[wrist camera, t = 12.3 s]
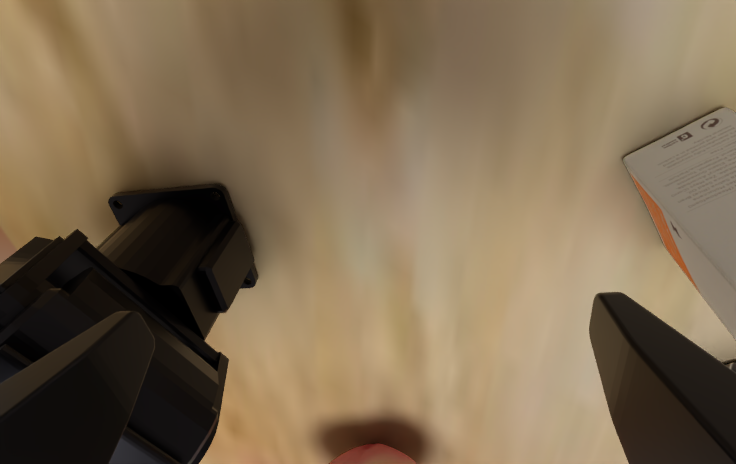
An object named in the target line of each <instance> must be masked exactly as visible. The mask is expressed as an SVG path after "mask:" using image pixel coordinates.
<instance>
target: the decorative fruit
mask: <svg viewBox="0 0 736 464" xmlns="http://www.w3.org/2000/svg"><path fill="white" fill-rule="evenodd" d="M329 464H417V463H416V462H415V461H414V460H412V459H411V458H410V457H408V456H407V455H405V454H404V453H402V452H400V451H398V450H396V449H394V448H392V447H389V446H386V445H384V444H381V443H377V444H367V445H363V446H358V447H355V448H353V449H351V450H349V451H347V452H345V453H343V454H341V455H340V456H338V457H337V458H335V459H334V460H333V461H331V462H330V463H329Z"/></svg>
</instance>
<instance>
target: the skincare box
mask: <svg viewBox="0 0 736 464" xmlns="http://www.w3.org/2000/svg"><path fill="white" fill-rule="evenodd" d="M623 162H624V164H625V166H626V168H627V170H628V171H629V173H630V175H631V177H632V179H633V181H634V183H635V185H636V187H637V189H638V191H639V193H640V195H641V197H642V198H643V200H644V202H645V204H646V206H647V209H648V211H649V213H650V215H651V217H652V220H653V222H654V224H655V226H656V229H657V231H658V233H659V235H660V237H661V240H662V242H663V244H664V246H665V248H666V250H667V251H668V252H669V253H670V255H671V256H672V257H673V259H674V260H675V261H676V263H677V264H678V265H679V267H680V268H681V269H682V271H683V272H684V273H685V275H686V276H687V277H688V279H689V280H690V281H691V282H692V284H693V285H694V286H695V288H696V289H697V290H698V292H699V293H700V294H701V296H702V297H703V298H704V300H705V301H706V302H707V303H708V305H709V306H710V307H711V309H712V310H713V311H714V313H715V314H716V315H717V316H718V318H719V319H720V320H721V322H722V323H723V324H724V326H725V327H726V328H727V330H728V331H729V332H730V334H731V335H732V336H733V338H734V339H735V340H736V112H734V111H732V110H731V109H729V108H727V107H725V108H721V109H719V110H717V111H715V112H713V113H711V114H709V115H707V116H705V117H703V118H701V119H699V120H697V121H695V122H693V123H691V124H689V125H687V126H685V127H683V128H681V129H679V130H677V131H675V132H673V133H671V134H669V135H667V136H665V137H663V138H662V139H660V140H657V141H655V142H653V143H651V144H649V145H647V146H645V147H643V148H641V149H639V150H637V151H635V152H633V153H631V154H629V155H627V156H626V157H624V159H623Z"/></svg>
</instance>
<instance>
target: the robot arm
mask: <svg viewBox="0 0 736 464" xmlns="http://www.w3.org/2000/svg"><path fill="white" fill-rule="evenodd" d="M213 192H216V193H218V194H219V195H220V197H217V196H215V194H214V193H213ZM118 201H119V202H121V203H122V205H121V204H120V203H119V202H118ZM108 203H109V206H110V208H111V209H112V211H113V213H114V215H115V217H116V219H117V221H118V223H119V225H120V226H119V227H118V228H117V229H116V230H115V231H114V232H113V233H112V234H111V235H110V236H109V237H108V238H106V239H105V240H104V241H103V242H102V243H101V244H100V245H99V246H98V247H97V248H95V247H94V246H93V245H92V244H91V243H89V242H88V241H87V239H88V238H87V237H86V236H85V235H84V234H83V233H82V232H80V231H79V230H78V229H76V230H75V231H74V232H73V233H71V234H70V235H69V236H67V237H66V238H65V239H62V238H61V237H60V236H59V237H58V238H56V239H55V240H50V239H45V238H40V237H35V238H34V239H32V240H31V241H30V242H28V243H27V244H26V245H24V246H23V247H22V248H21V249H19V250H18V251H17V252H15V253H14V254H13V255H12V256H10V257H9V258H7V259H6V260H5V261H3V262H2V263H1V264H0V464H199V462H200V461H201V459H202V458H203V457H204V455H205V453H206V452H207V450H208V448H209V446H210V445H211V443H212V440H213V438H214V436H215V433H216V430H217V426H218V422H219V416H220V410H221V404H222V398H223V392H224V385H225V379H226V373H227V367H228V361H229V359H228V358H227V357H226V356H225V355H223V354H222V353H221V352H217V351H215V350H214V349H213V348H212V347H211V346H210V345H208V344H207V343H206V342H205V339H206V337H207V335H208V334H209V332H210V330H211V328H212V326H213V324H214V323H215V321H216V319H217V317H218V315H219V313H226V312H227V310H228V309H229V308H230V306H231V304H232V302H233V300H234V298H235V296H236V294H237V293H238V291H239V289H240V288H252V287H254V286H255V284H256V282H257V280H258V276H257V273H256V270H255V268H254V265H253V262H254V258H253V255H252V252H251V250H250V247H249V244H248V241H247V238H246V236H245V233H244V230H243V227H242V224H241V223H240V222H239V221H238V220H237V217H236V215H235V212H234V209H233V206H232V203H231V201H230V198H229V195H228V192H227V190H226V189H225V188H224V187H223V186H222V185H219V184H208V185H197V186H186V187H175V188H164V189H153V190H142V191H131V192H120V193H116V194H114V195H113V196H112V197H110V199H109V202H108ZM246 278H249V279H250V280H248V279H246ZM589 334H590V340H591V344H592V347H593V351H594V355H595V359H596V362H597V366H598V370H599V374H600V377H601V381H602V385H603V389H604V393H605V396H606V400H607V404H608V407H609V411H610V414H611V418H612V421H613V424H614V426H615V429H616V432H617V435H618V437H619V440H620V442H621V445H622V447H623V450H624V452H625V455H626V457H627V460H628V462H629V464H736V372H734V371H733V370H731V369H730V368H729V367H727V366H726V365H724V364H723V363H721V362H720V361H719V360H717V359H716V358H714V357H713V356H712V355H710V354H709V353H707V352H706V351H704V350H703V349H702V348H700V347H699V346H697V345H696V344H695V343H693V342H692V341H690V340H689V339H688V338H686V337H685V336H683V335H682V334H680V333H679V332H678V331H676V330H675V329H673V328H672V327H671V326H669V325H668V324H666V323H665V322H663V321H662V320H661V319H659V318H658V317H656V316H655V315H654V314H652V313H651V312H649V311H648V310H646V309H645V308H644V307H642V306H641V305H639V304H638V303H637V302H635V301H634V300H632V299H631V298H629V297H628V296H627V295H625V294H623V293H621V292H606V293H598V294H597V295H596V296H595V298H594V301H593V307H592V313H591V319H590V325H589Z"/></svg>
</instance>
